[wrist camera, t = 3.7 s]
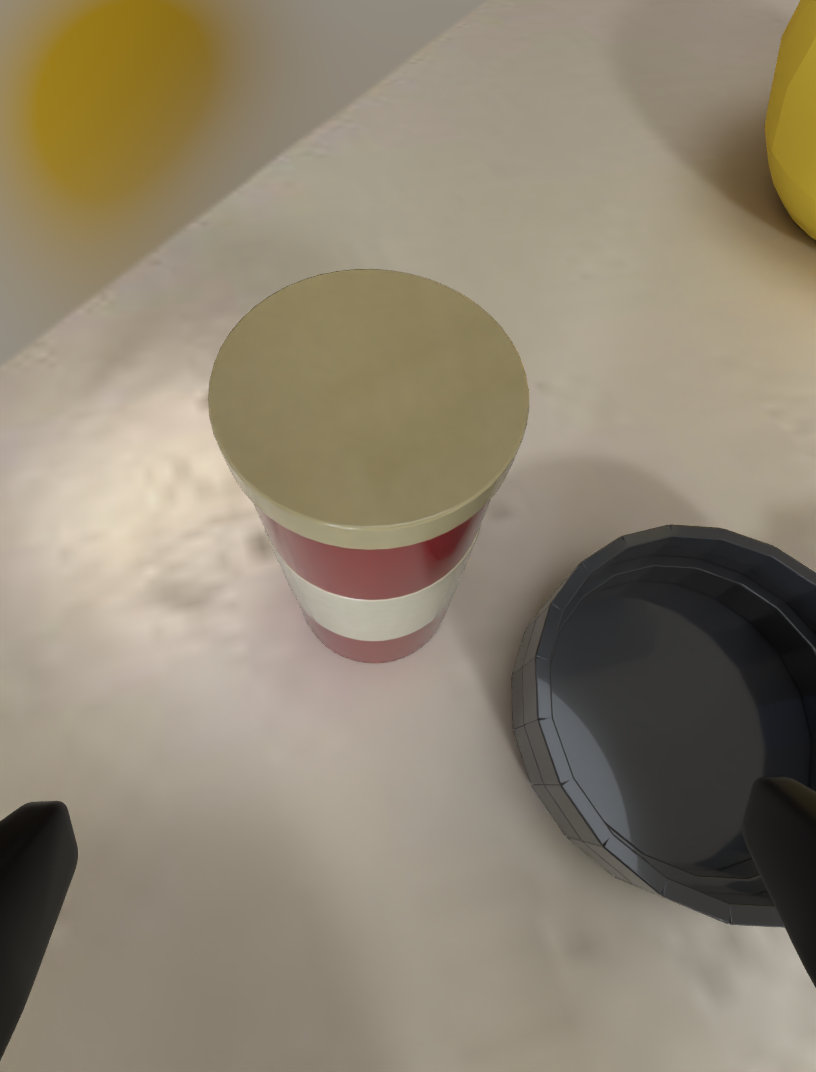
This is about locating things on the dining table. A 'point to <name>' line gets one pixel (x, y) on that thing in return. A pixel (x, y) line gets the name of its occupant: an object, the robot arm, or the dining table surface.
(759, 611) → the pan
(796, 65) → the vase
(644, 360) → the dining table surface
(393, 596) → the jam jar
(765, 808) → the robot arm
